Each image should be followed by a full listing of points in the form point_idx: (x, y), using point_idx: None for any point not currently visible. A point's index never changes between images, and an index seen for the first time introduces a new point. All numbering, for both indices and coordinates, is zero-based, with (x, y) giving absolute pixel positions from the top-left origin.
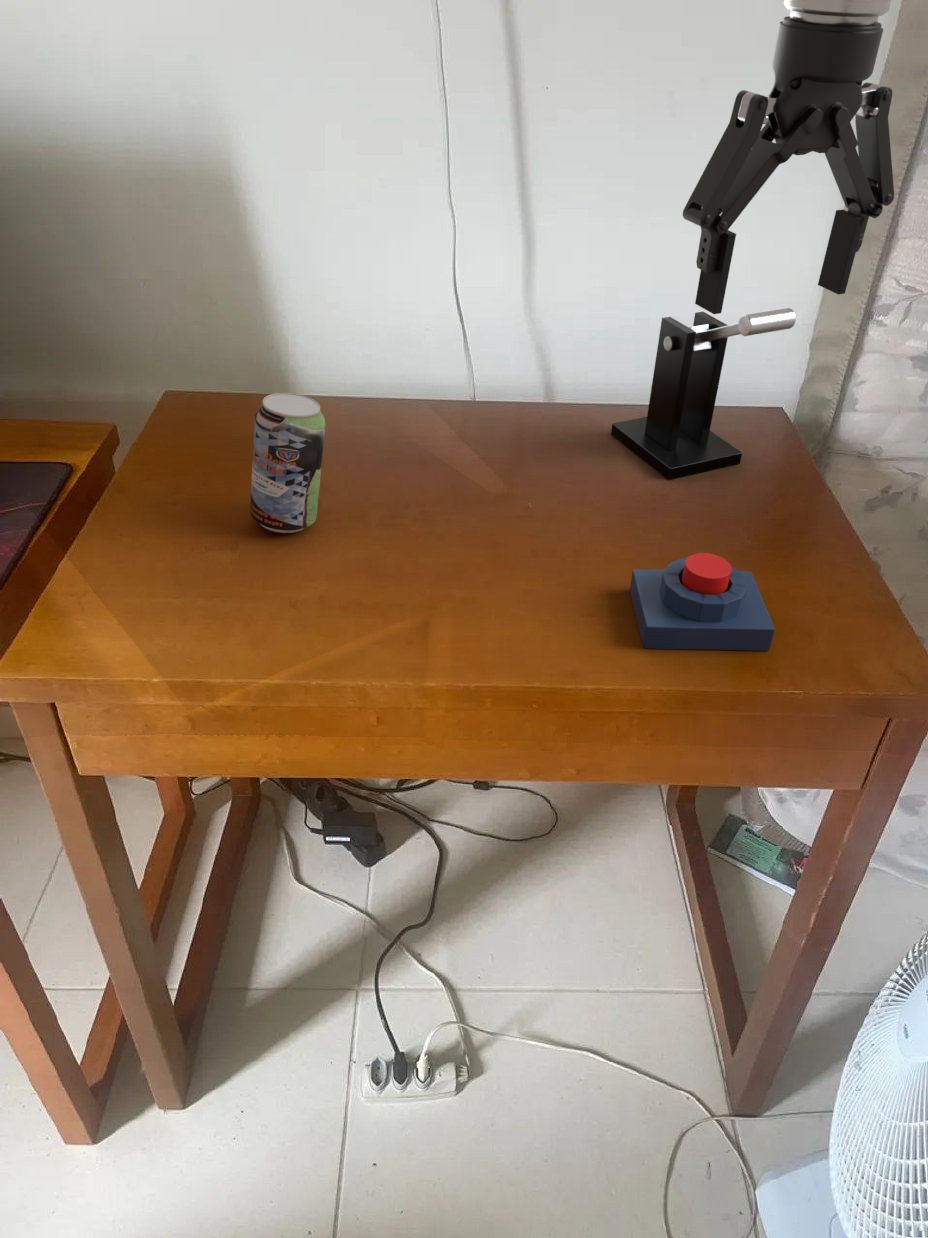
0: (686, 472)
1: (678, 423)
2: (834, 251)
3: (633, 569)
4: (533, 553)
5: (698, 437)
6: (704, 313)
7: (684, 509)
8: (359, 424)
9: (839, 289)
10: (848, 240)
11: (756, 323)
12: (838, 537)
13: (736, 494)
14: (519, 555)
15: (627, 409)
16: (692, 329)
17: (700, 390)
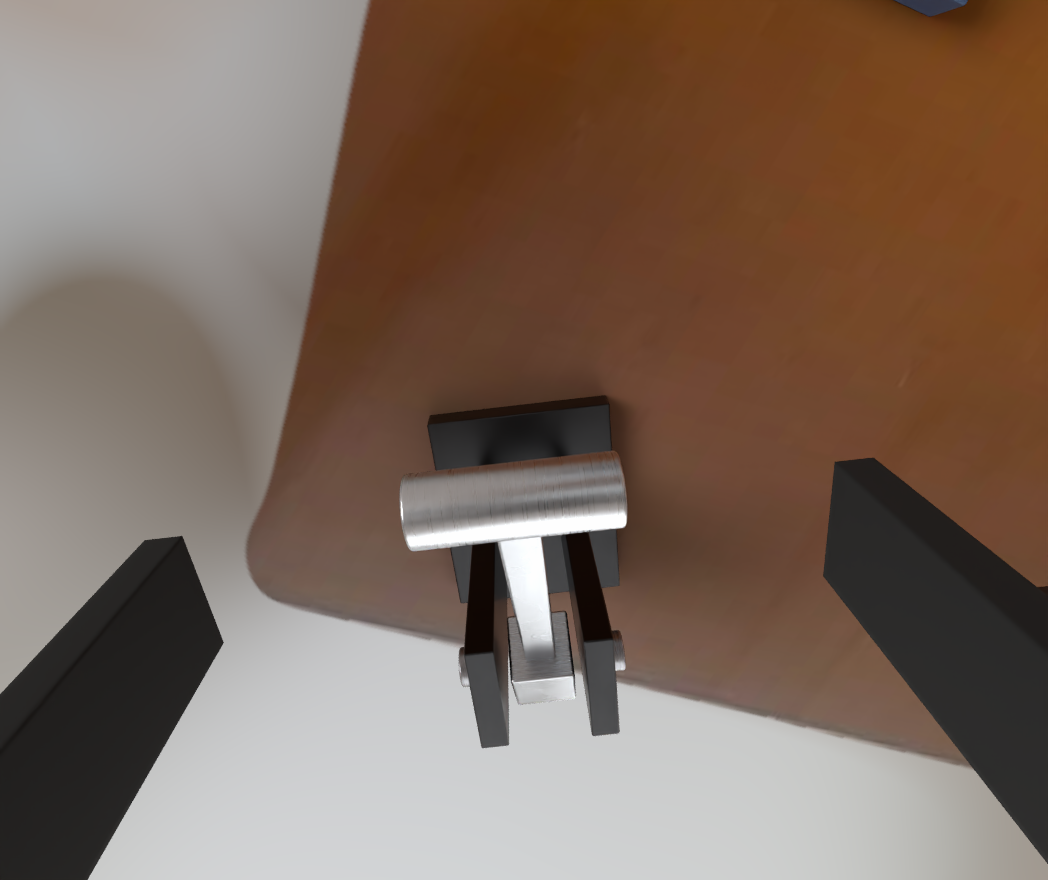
0: (564, 402)
1: None
2: (124, 735)
3: (965, 3)
4: (1006, 215)
5: None
6: (487, 736)
7: (637, 283)
8: None
9: (172, 548)
10: (36, 747)
11: (596, 467)
12: (377, 73)
13: (501, 307)
14: (1034, 216)
15: None
16: (567, 667)
17: (499, 561)
